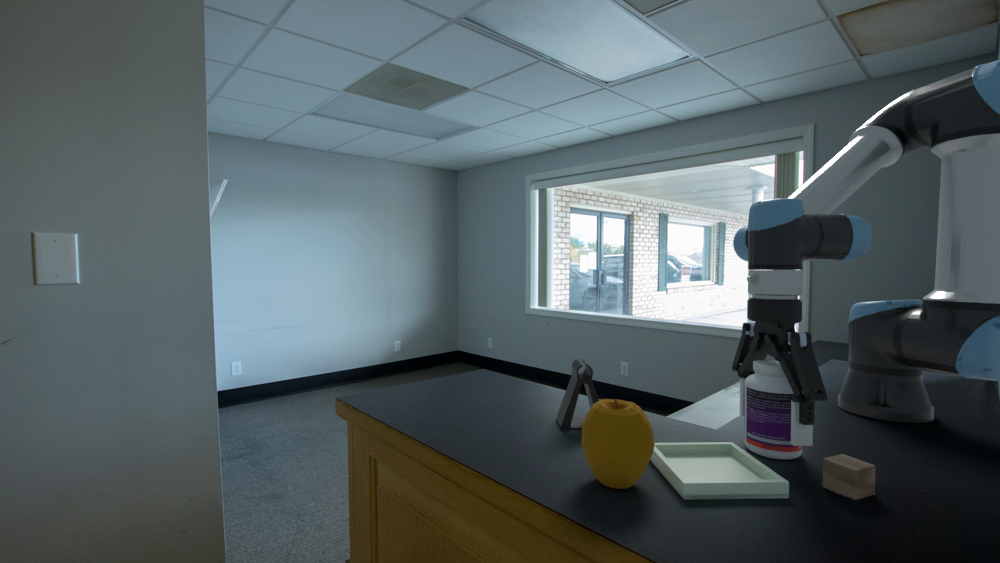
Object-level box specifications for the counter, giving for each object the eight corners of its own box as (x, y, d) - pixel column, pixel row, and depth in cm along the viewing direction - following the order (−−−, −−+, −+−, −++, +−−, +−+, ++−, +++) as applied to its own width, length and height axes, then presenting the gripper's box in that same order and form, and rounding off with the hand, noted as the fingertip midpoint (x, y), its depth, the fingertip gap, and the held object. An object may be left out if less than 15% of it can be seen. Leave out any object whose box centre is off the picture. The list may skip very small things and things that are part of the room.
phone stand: (560, 429, 83) (560, 365, 83) (556, 419, 89) (556, 358, 89) (609, 429, 83) (609, 365, 83) (601, 419, 89) (602, 358, 89)
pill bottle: (811, 464, 68) (813, 369, 68) (753, 460, 70) (754, 367, 70) (789, 444, 76) (790, 359, 76) (737, 441, 78) (738, 357, 77)
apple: (650, 471, 66) (651, 391, 66) (658, 504, 57) (659, 411, 56) (582, 464, 68) (583, 387, 68) (579, 495, 59) (579, 406, 58)
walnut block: (841, 482, 63) (842, 453, 63) (874, 495, 59) (875, 465, 59) (822, 487, 61) (823, 458, 61) (855, 501, 57) (855, 470, 57)
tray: (732, 455, 72) (732, 442, 72) (788, 498, 58) (789, 482, 58) (646, 456, 71) (646, 442, 71) (683, 499, 58) (683, 483, 58)
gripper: (712, 293, 85) (711, 405, 85) (805, 302, 60) (803, 461, 60) (752, 293, 85) (750, 405, 85) (861, 302, 60) (858, 460, 61)
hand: (772, 428), depth 73 cm, fingers open, 13 cm apart
